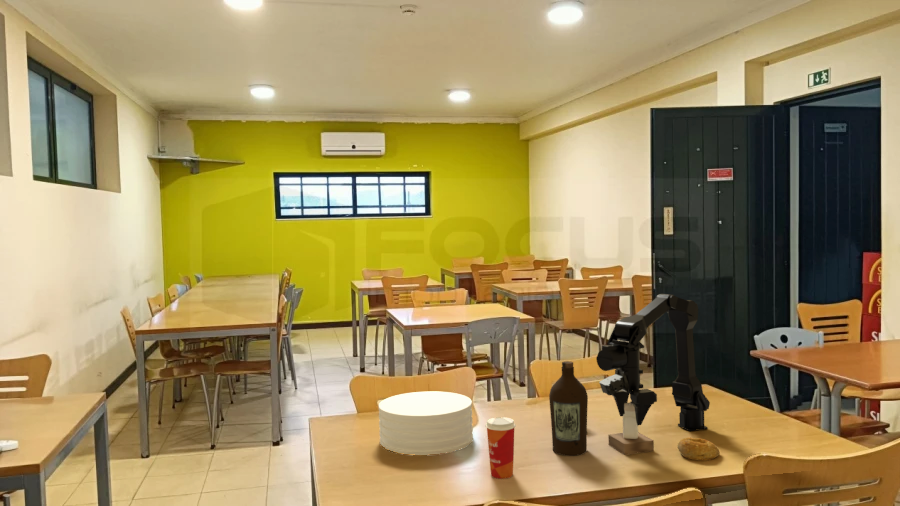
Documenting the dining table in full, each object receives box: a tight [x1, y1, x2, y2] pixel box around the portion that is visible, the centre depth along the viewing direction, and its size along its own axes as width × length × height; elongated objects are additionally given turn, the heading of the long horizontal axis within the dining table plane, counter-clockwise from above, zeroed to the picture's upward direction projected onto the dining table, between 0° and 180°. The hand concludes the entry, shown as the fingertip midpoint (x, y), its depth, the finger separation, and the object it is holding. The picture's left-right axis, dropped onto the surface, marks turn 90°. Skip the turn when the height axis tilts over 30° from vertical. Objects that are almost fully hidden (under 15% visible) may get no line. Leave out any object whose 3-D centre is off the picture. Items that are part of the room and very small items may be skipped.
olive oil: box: [548, 360, 589, 457], centre depth 189 cm, size 11×11×25 cm
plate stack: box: [378, 390, 474, 456], centre depth 202 cm, size 28×28×12 cm
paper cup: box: [485, 416, 516, 480], centre depth 172 cm, size 8×8×14 cm
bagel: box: [677, 437, 721, 461], centre depth 182 cm, size 10×11×5 cm
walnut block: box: [608, 431, 655, 456], centre depth 190 cm, size 9×9×3 cm
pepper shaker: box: [622, 402, 639, 439], centre depth 189 cm, size 4×4×10 cm
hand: (630, 420), depth 189 cm, fingers open, 9 cm apart
